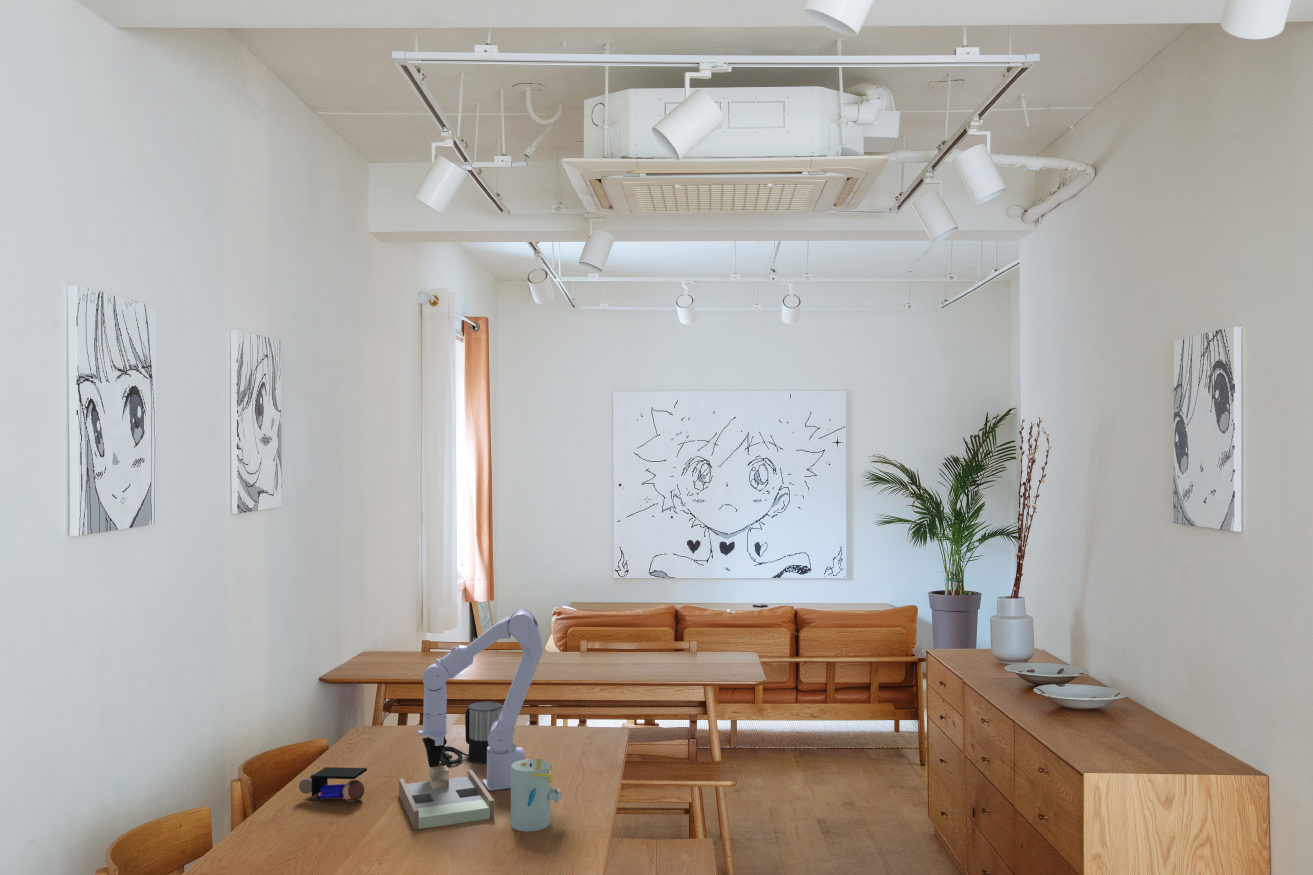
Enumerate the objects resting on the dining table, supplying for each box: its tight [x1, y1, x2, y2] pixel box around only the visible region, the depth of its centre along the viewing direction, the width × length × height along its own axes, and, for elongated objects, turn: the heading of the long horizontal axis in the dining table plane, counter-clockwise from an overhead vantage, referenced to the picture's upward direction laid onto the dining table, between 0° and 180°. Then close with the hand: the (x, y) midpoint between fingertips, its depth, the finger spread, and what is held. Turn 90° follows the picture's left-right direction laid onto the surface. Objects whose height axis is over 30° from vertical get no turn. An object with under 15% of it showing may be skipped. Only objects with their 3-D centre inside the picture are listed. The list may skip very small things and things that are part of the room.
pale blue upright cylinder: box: [510, 758, 563, 832], centre depth 209 cm, size 20×12×13 cm, turn 6°
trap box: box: [398, 769, 495, 831], centre depth 219 cm, size 18×24×4 cm
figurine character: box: [298, 766, 368, 803], centre depth 224 cm, size 7×8×15 cm
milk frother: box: [440, 701, 503, 765], centre depth 255 cm, size 14×16×15 cm
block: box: [428, 764, 450, 789], centre depth 227 cm, size 4×4×4 cm
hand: (433, 766), depth 233 cm, fingers closed
